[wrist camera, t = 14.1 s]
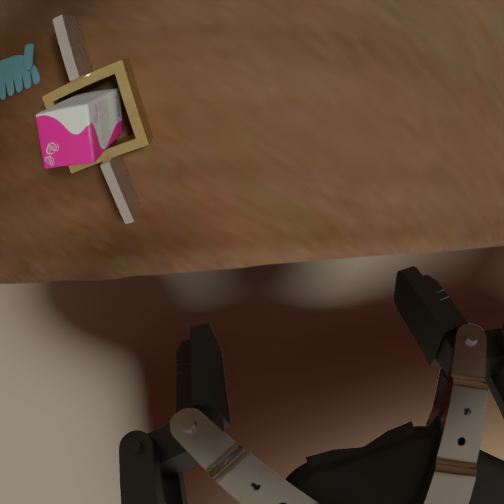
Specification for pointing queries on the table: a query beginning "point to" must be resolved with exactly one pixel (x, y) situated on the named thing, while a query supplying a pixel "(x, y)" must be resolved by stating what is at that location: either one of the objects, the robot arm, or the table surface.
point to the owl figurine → (18, 72)
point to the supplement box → (80, 128)
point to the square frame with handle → (84, 76)
